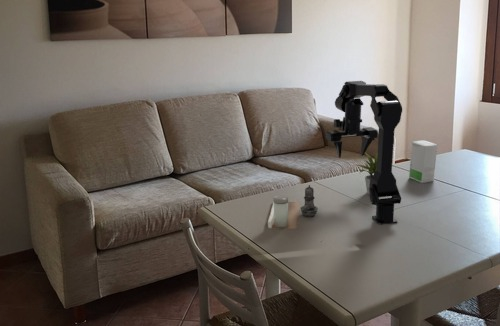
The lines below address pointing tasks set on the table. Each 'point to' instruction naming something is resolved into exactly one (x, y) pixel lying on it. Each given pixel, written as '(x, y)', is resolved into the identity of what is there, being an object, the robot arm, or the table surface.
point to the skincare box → (423, 161)
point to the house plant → (371, 169)
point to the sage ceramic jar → (280, 211)
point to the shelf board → (291, 216)
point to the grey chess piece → (309, 203)
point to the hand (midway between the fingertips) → (350, 156)
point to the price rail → (271, 217)
